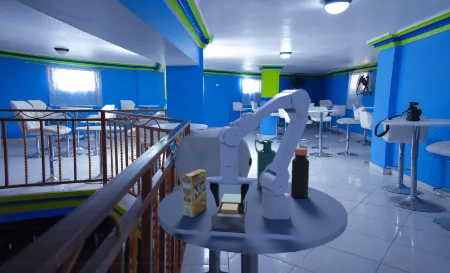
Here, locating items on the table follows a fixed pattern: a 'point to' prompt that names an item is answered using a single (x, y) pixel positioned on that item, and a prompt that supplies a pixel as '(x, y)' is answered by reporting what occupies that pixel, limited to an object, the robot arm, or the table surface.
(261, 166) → the pitcher
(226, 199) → the grey flat block
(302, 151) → the bottle
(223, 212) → the tan cube
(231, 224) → the press bed
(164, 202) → the table surface
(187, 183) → the candy box
